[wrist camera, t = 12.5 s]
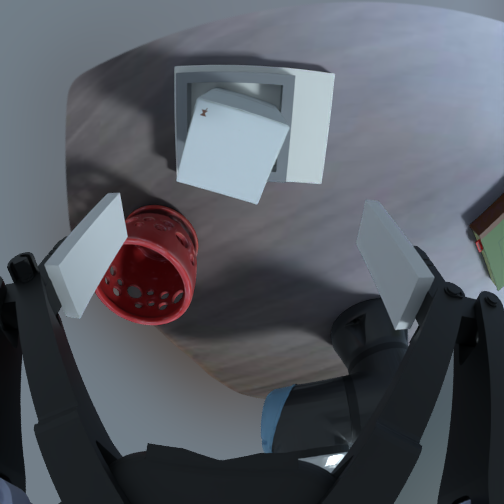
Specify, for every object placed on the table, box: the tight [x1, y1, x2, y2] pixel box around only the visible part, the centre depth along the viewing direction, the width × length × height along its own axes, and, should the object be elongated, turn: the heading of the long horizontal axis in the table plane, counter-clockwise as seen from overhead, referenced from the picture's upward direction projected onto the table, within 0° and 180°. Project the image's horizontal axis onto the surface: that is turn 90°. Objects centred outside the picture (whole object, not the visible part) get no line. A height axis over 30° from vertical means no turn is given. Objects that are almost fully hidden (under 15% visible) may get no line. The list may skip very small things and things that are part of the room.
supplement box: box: [176, 87, 290, 204], centre depth 28 cm, size 7×7×13 cm
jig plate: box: [174, 65, 335, 184], centre depth 32 cm, size 14×18×4 cm
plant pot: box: [95, 205, 198, 325], centre depth 38 cm, size 13×13×12 cm
